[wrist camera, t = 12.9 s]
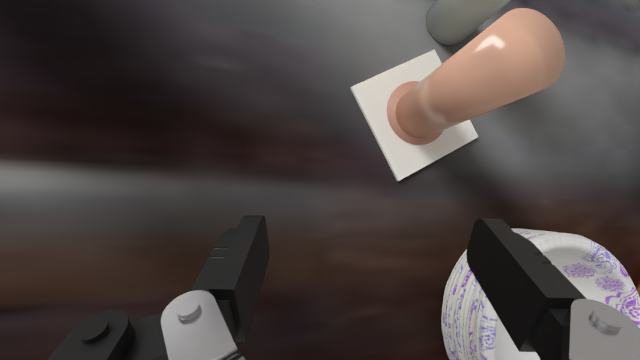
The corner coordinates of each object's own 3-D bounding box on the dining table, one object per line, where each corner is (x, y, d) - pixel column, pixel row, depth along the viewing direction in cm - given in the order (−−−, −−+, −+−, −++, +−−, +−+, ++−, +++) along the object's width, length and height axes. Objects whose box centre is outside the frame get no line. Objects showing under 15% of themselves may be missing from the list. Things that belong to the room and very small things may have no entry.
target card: (350, 88, 27) (351, 86, 27) (432, 50, 29) (435, 48, 28) (397, 181, 27) (399, 180, 27) (476, 137, 29) (479, 136, 29)
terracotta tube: (387, 101, 27) (478, 24, 15) (427, 82, 28) (542, -3, 16) (409, 146, 27) (516, 103, 15) (448, 126, 28) (578, 71, 16)
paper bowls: (574, 276, 30) (682, 303, 22) (511, 412, 27) (608, 495, 20) (467, 195, 28) (543, 192, 21) (390, 331, 26) (443, 386, 18)
